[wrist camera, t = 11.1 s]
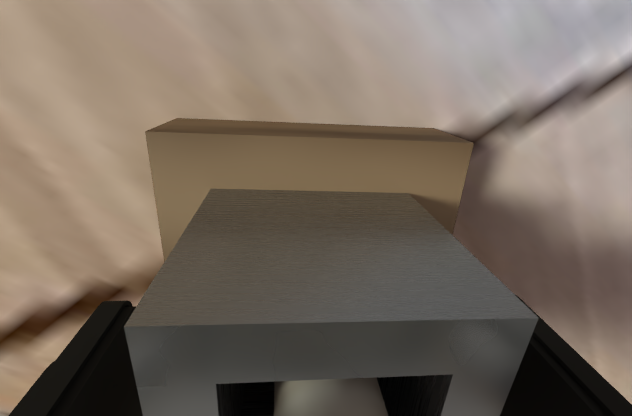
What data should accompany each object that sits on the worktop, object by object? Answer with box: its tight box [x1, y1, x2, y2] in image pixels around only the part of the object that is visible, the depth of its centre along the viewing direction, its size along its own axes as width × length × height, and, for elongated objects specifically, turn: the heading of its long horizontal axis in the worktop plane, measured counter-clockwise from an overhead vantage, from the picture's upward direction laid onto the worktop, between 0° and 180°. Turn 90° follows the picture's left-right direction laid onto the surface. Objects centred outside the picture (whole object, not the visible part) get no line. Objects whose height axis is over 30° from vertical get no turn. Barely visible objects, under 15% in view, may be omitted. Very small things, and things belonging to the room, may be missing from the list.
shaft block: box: [145, 118, 474, 416], centre depth 10 cm, size 10×10×9 cm
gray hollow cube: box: [124, 189, 539, 416], centre depth 9 cm, size 6×6×6 cm
